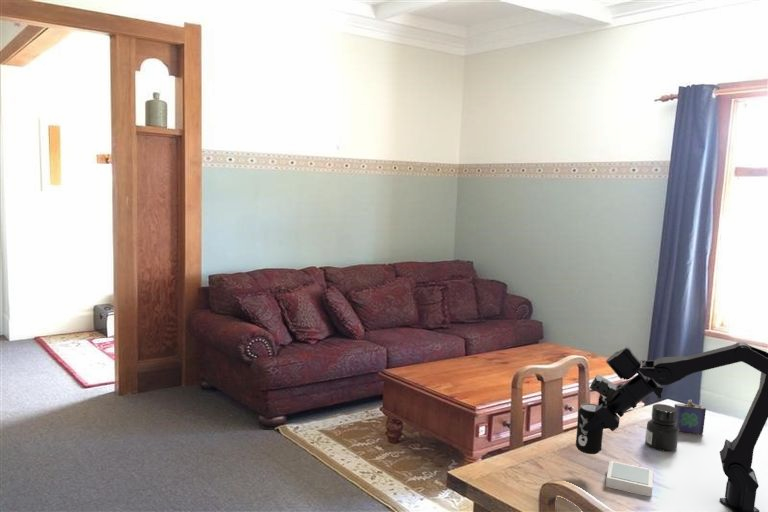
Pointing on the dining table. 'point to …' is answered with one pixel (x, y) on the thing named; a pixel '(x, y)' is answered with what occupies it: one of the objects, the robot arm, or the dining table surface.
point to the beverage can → (588, 439)
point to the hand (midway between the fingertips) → (585, 425)
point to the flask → (690, 418)
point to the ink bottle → (662, 428)
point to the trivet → (630, 478)
